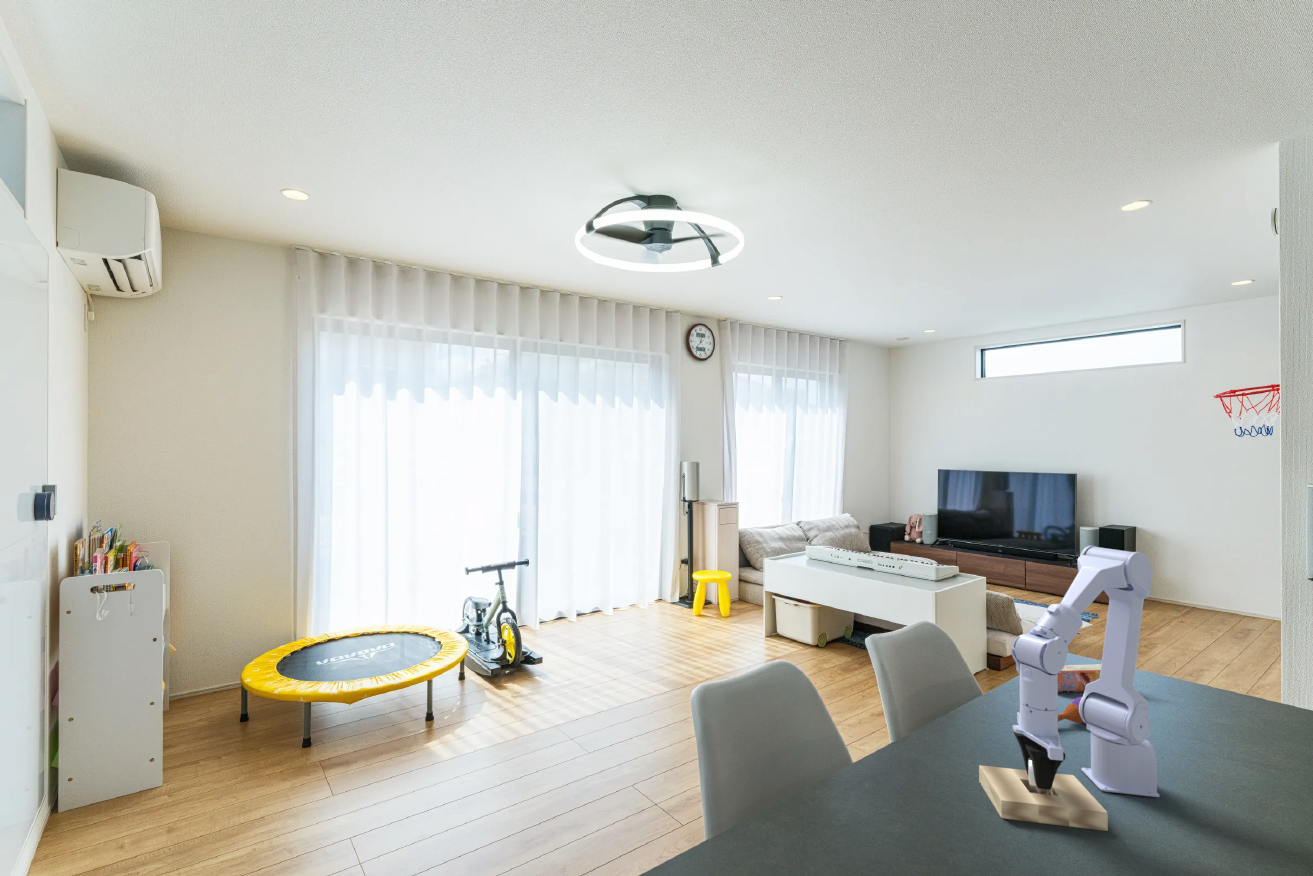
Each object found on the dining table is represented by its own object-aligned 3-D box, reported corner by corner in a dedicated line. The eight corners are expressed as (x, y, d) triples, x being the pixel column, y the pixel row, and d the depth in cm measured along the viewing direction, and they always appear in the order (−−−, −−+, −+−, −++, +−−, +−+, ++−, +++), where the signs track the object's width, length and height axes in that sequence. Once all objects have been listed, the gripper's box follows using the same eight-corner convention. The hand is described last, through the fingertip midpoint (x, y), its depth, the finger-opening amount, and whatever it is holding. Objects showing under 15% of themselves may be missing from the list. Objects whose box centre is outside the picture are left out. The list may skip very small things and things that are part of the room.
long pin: (1044, 798, 109) (1044, 758, 109) (1051, 807, 106) (1051, 766, 106) (1025, 795, 109) (1025, 756, 110) (1032, 805, 107) (1032, 764, 107)
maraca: (1014, 707, 140) (1081, 692, 146) (1020, 735, 139) (1087, 719, 145) (1036, 713, 135) (1104, 697, 140) (1042, 742, 134) (1111, 725, 139)
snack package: (1052, 695, 158) (1052, 669, 159) (1035, 685, 165) (1035, 660, 165) (1131, 695, 159) (1131, 669, 159) (1111, 685, 166) (1111, 660, 166)
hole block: (1073, 791, 112) (1073, 775, 112) (1107, 831, 100) (1107, 812, 100) (979, 781, 115) (979, 765, 115) (1001, 818, 103) (1001, 800, 103)
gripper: (999, 687, 116) (999, 759, 116) (1029, 719, 102) (1030, 801, 101) (1040, 690, 115) (1040, 763, 114) (1077, 723, 100) (1077, 807, 100)
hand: (1038, 782), depth 108 cm, fingers open, 3 cm apart
